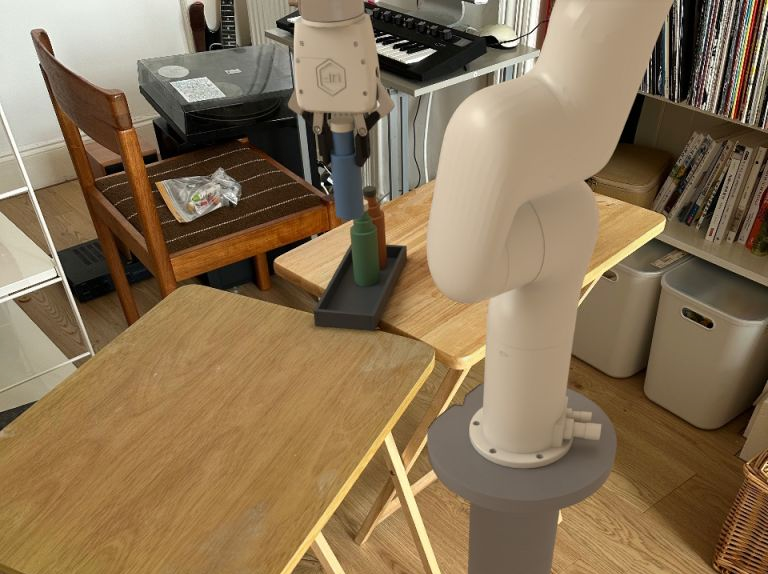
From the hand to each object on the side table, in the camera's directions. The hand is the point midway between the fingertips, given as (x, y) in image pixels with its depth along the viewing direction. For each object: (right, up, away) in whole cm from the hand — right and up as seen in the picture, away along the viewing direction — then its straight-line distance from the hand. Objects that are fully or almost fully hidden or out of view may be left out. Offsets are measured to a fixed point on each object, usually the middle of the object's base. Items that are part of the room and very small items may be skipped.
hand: (345, 160), depth 106 cm
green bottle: (+3, -11, +18) cm, 21 cm away
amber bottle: (+4, -7, +21) cm, 23 cm away
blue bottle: (0, -5, +5) cm, 7 cm away
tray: (+2, -13, +17) cm, 21 cm away
